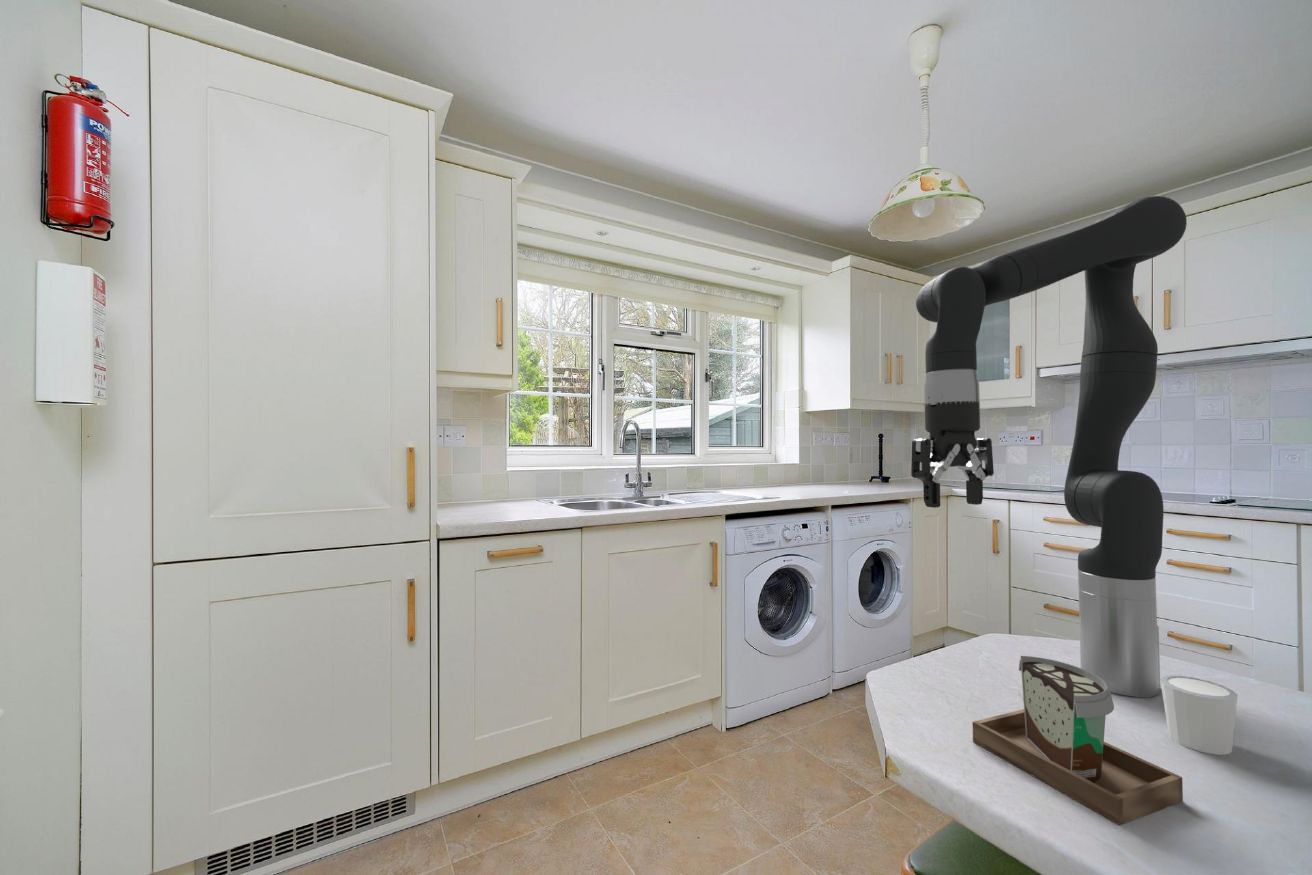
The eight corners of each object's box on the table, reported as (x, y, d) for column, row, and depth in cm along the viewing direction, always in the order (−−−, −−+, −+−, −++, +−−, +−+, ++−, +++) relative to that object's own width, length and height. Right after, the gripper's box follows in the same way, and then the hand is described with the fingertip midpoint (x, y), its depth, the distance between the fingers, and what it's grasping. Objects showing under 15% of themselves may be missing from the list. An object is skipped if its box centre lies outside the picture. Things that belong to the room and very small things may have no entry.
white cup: (1226, 763, 63) (1224, 703, 63) (1151, 736, 69) (1150, 681, 69) (1249, 748, 66) (1247, 690, 66) (1175, 722, 72) (1174, 670, 73)
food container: (1145, 798, 56) (1142, 701, 56) (1079, 793, 57) (1077, 698, 57) (1073, 735, 68) (1071, 656, 69) (1020, 732, 69) (1018, 653, 70)
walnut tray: (1029, 726, 72) (1029, 707, 72) (1182, 801, 57) (1182, 777, 57) (972, 741, 68) (972, 721, 68) (1119, 825, 53) (1118, 799, 53)
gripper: (964, 403, 90) (966, 501, 90) (897, 402, 85) (899, 505, 85) (1007, 400, 83) (1009, 505, 83) (936, 398, 78) (938, 510, 78)
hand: (953, 505), depth 84 cm, fingers open, 8 cm apart
